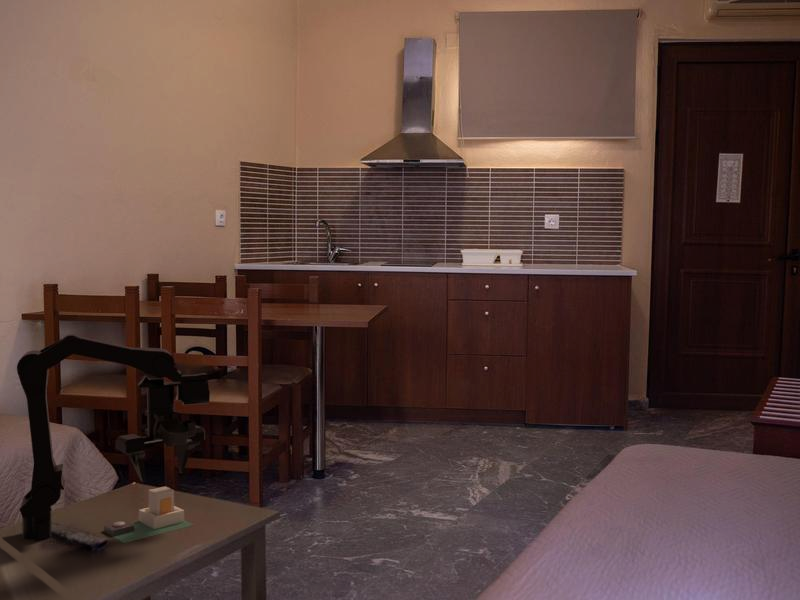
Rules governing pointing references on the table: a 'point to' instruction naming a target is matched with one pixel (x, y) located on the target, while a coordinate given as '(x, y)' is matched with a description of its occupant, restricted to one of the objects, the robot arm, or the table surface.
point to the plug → (161, 501)
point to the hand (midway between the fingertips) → (162, 476)
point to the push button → (119, 528)
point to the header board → (154, 525)
